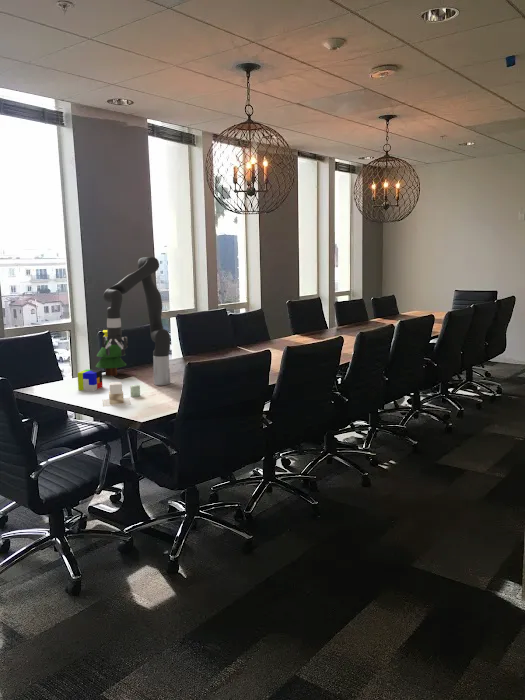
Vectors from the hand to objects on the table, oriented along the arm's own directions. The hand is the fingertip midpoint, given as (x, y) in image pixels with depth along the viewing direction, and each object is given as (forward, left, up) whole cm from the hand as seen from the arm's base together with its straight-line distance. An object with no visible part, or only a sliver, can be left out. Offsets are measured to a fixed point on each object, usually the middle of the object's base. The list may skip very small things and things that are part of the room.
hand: (115, 355), depth 326 cm
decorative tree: (+1, -53, -22) cm, 57 cm away
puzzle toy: (+14, -18, -22) cm, 32 cm away
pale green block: (-9, +10, -22) cm, 25 cm away
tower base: (+1, +20, -21) cm, 29 cm away
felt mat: (+1, +20, -22) cm, 29 cm away
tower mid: (+1, +20, -16) cm, 26 cm away
